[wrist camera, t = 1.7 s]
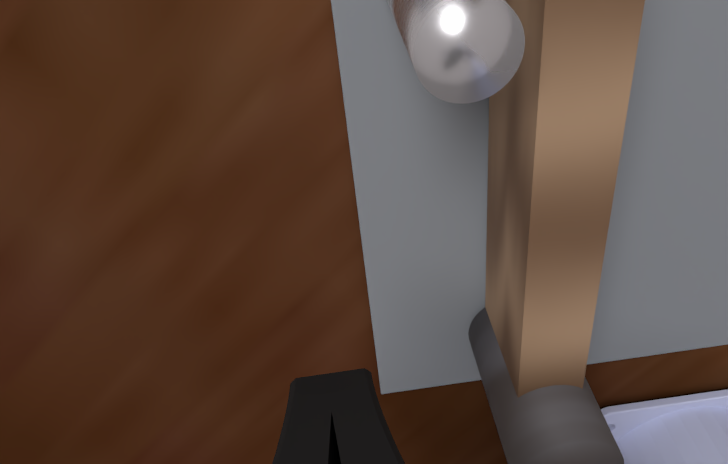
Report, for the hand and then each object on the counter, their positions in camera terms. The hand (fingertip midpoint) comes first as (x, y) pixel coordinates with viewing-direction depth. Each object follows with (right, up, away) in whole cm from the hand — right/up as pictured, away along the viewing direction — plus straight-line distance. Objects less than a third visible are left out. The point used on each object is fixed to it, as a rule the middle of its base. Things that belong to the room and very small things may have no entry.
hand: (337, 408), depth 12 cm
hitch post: (+2, +10, +5) cm, 11 cm away
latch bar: (+5, +5, +8) cm, 11 cm away
